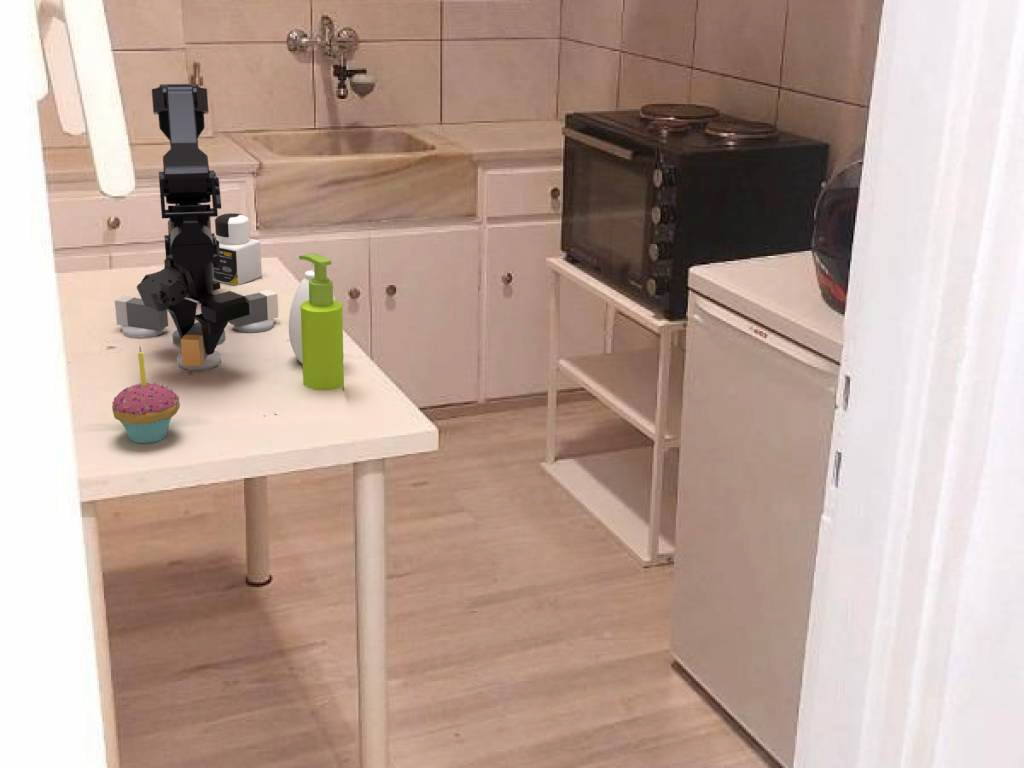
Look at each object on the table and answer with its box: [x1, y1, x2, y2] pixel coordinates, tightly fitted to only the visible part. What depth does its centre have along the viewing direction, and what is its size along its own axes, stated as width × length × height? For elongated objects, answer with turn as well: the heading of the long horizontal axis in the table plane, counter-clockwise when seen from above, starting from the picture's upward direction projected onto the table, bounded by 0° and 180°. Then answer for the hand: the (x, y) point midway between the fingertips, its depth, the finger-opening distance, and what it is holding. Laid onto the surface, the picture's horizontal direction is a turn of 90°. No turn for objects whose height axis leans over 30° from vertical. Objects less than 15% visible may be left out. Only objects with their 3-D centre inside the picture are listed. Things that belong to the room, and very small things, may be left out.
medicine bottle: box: [213, 213, 263, 287], centre depth 217 cm, size 7×7×12 cm
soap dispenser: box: [298, 253, 345, 392], centre depth 169 cm, size 6×7×20 cm
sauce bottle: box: [288, 262, 336, 364], centre depth 177 cm, size 8×8×18 cm
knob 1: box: [176, 321, 222, 371], centre depth 176 cm, size 8×6×5 cm
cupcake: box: [111, 345, 181, 444], centre depth 154 cm, size 9×8×12 cm
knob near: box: [114, 295, 169, 339], centre depth 188 cm, size 8×6×5 cm
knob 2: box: [228, 289, 279, 334], centre depth 192 cm, size 8×6×5 cm
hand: (198, 349), depth 177 cm, fingers open, 5 cm apart
